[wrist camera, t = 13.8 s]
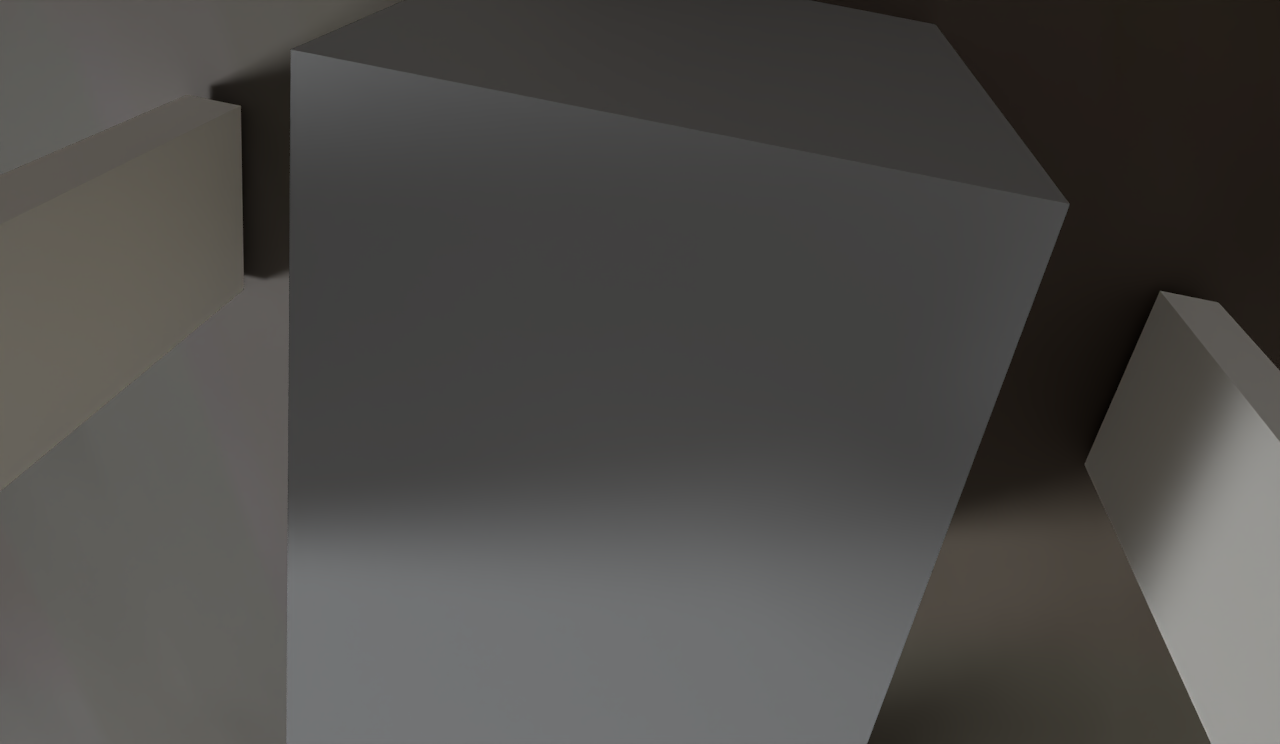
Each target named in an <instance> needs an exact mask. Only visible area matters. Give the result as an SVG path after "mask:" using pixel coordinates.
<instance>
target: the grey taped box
mask: <svg viewBox="0 0 1280 744" xmlns="http://www.w3.org/2000/svg"><path fill="white" fill-rule="evenodd" d="M1069 205H1070V204H1069V202H1068V201H1067V200H1066V198H1065V197H1064V196H1063V194H1062V193H1061V192H1060V190H1059V189H1058V188H1057V186H1056V185H1055V184H1054V182H1053V181H1052V180H1051V178H1050V177H1049V176H1048V174H1047V173H1046V172H1045V170H1044V169H1043V168H1042V166H1041V165H1040V164H1039V162H1038V161H1037V160H1036V158H1035V157H1034V155H1033V154H1032V153H1031V151H1030V150H1029V149H1028V147H1027V146H1026V145H1025V143H1024V142H1023V141H1022V139H1021V138H1020V137H1019V135H1018V134H1017V133H1016V131H1015V130H1014V129H1013V127H1012V126H1011V125H1010V123H1009V122H1008V121H1007V119H1006V118H1005V117H1004V115H1003V114H1002V113H1001V111H1000V110H999V109H998V107H997V106H996V105H995V103H994V102H993V101H992V99H991V98H990V97H989V95H988V94H987V93H986V91H985V90H984V89H983V87H982V86H981V85H980V83H979V82H978V81H977V79H976V78H975V77H974V75H973V74H972V73H971V71H970V70H969V69H968V67H967V66H966V65H965V63H964V62H963V60H962V59H961V58H960V56H959V55H958V54H957V52H956V51H955V50H954V48H953V47H952V46H951V44H950V43H949V42H948V40H947V39H946V38H945V36H944V35H943V34H942V32H941V31H940V30H939V28H938V27H937V26H936V24H931V23H926V22H921V21H915V20H910V19H905V18H900V17H895V16H890V15H884V14H879V13H874V12H869V11H864V10H859V9H853V8H848V7H843V6H838V5H833V4H827V3H822V2H817V1H812V0H404V1H402V2H400V3H397V4H395V5H393V6H390V7H388V8H386V9H383V10H381V11H379V12H376V13H374V14H372V15H369V16H367V17H365V18H363V19H360V20H358V21H356V22H353V23H351V24H349V25H346V26H344V27H342V28H339V29H337V30H335V31H332V32H330V33H328V34H326V35H323V36H321V37H319V38H316V39H314V40H312V41H309V42H307V43H305V44H302V45H300V46H298V47H295V48H293V49H291V93H290V251H289V409H288V567H287V725H286V744H867V743H868V740H869V737H870V735H871V732H872V729H873V727H874V724H875V721H876V719H877V716H878V713H879V711H880V708H881V706H882V703H883V700H884V698H885V695H886V692H887V690H888V687H889V684H890V682H891V679H892V676H893V674H894V671H895V668H896V666H897V663H898V660H899V658H900V655H901V652H902V650H903V647H904V644H905V642H906V639H907V636H908V634H909V631H910V628H911V626H912V623H913V620H914V618H915V615H916V612H917V610H918V607H919V604H920V602H921V599H922V596H923V594H924V591H925V588H926V586H927V583H928V580H929V578H930V575H931V572H932V570H933V567H934V564H935V562H936V559H937V556H938V554H939V551H940V549H941V546H942V543H943V541H944V538H945V535H946V533H947V530H948V527H949V525H950V522H951V519H952V517H953V514H954V511H955V509H956V506H957V503H958V501H959V498H960V495H961V493H962V490H963V487H964V485H965V482H966V479H967V477H968V474H969V471H970V469H971V466H972V463H973V461H974V458H975V455H976V453H977V450H978V447H979V445H980V442H981V439H982V437H983V434H984V431H985V429H986V426H987V423H988V421H989V418H990V415H991V413H992V410H993V407H994V405H995V402H996V399H997V397H998V394H999V392H1000V389H1001V386H1002V384H1003V381H1004V378H1005V376H1006V373H1007V370H1008V368H1009V365H1010V362H1011V360H1012V357H1013V354H1014V352H1015V349H1016V346H1017V344H1018V341H1019V338H1020V336H1021V333H1022V330H1023V328H1024V325H1025V322H1026V320H1027V317H1028V314H1029V312H1030V309H1031V306H1032V304H1033V301H1034V298H1035V296H1036V293H1037V290H1038V288H1039V285H1040V282H1041V280H1042V277H1043V274H1044V272H1045V269H1046V266H1047V264H1048V261H1049V258H1050V256H1051V253H1052V250H1053V248H1054V245H1055V242H1056V240H1057V237H1058V235H1059V232H1060V229H1061V227H1062V224H1063V221H1064V219H1065V216H1066V213H1067V211H1068V208H1069Z"/></svg>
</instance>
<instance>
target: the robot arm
mask: <svg viewBox="0 0 1280 744" xmlns="http://www.w3.org/2000/svg"><path fill="white" fill-rule="evenodd" d="M243 290H244V261H243V203H242V145H241V106H240V105H235V104H230V103H225V102H220V101H215V100H210V99H205V98H200V97H195V96H190V95H185V96H183V97H181V98H178V99H176V100H174V101H171V102H169V103H167V104H164V105H162V106H160V107H157V108H155V109H153V110H150V111H148V112H146V113H143V114H141V115H139V116H136V117H134V118H132V119H130V120H127V121H125V122H123V123H120V124H118V125H116V126H113V127H111V128H109V129H106V130H104V131H102V132H99V133H97V134H95V135H92V136H90V137H88V138H86V139H83V140H81V141H79V142H76V143H74V144H72V145H69V146H67V147H65V148H62V149H60V150H58V151H55V152H53V153H51V154H48V155H46V156H44V157H41V158H39V159H37V160H35V161H32V162H30V163H28V164H25V165H23V166H21V167H18V168H16V169H14V170H11V171H9V172H7V173H4V174H2V175H0V491H1V490H3V489H4V488H5V487H6V486H7V485H9V484H10V483H11V482H12V481H13V480H15V479H16V478H17V477H18V476H19V475H21V474H22V473H23V472H24V471H26V470H27V469H28V468H29V467H30V466H32V465H33V464H34V463H35V462H36V461H38V460H39V459H40V458H41V457H42V456H44V455H45V454H46V453H47V452H48V451H50V450H51V449H52V448H53V447H54V446H56V445H57V444H58V443H59V442H60V441H62V440H63V439H64V438H65V437H67V436H68V435H69V434H70V433H71V432H73V431H74V430H75V429H76V428H77V427H79V426H80V425H81V424H82V423H83V422H85V421H86V420H87V419H88V418H89V417H91V416H92V415H93V414H94V413H95V412H97V411H98V410H99V409H100V408H101V407H103V406H104V405H105V404H106V403H108V402H109V401H110V400H111V399H112V398H114V397H115V396H116V395H117V394H118V393H120V392H121V391H122V390H123V389H124V388H126V387H127V386H128V385H129V384H130V383H132V382H133V381H134V380H135V379H136V378H138V377H139V376H140V375H141V374H142V373H144V372H145V371H146V370H147V369H149V368H150V367H151V366H152V365H153V364H155V363H156V362H157V361H158V360H159V359H161V358H162V357H163V356H164V355H165V354H167V353H168V352H169V351H170V350H171V349H173V348H174V347H175V346H176V345H177V344H179V343H180V342H181V341H182V340H183V339H185V338H186V337H187V336H188V335H190V334H191V333H192V332H193V331H194V330H196V329H197V328H198V327H199V326H200V325H202V324H203V323H204V322H205V321H206V320H208V319H209V318H210V317H211V316H212V315H214V314H215V313H216V312H217V311H218V310H220V309H221V308H222V307H223V306H224V305H226V304H227V303H228V302H229V301H231V300H232V299H233V298H234V297H235V296H237V295H238V294H239V293H240V292H241V291H243ZM1084 465H1085V467H1086V470H1087V472H1088V474H1089V476H1090V478H1091V481H1092V483H1093V485H1094V487H1095V489H1096V492H1097V494H1098V496H1099V498H1100V500H1101V502H1102V505H1103V507H1104V509H1105V511H1106V513H1107V516H1108V518H1109V520H1110V522H1111V524H1112V527H1113V529H1114V531H1115V533H1116V535H1117V538H1118V540H1119V542H1120V544H1121V546H1122V549H1123V551H1124V553H1125V555H1126V557H1127V560H1128V562H1129V564H1130V566H1131V568H1132V571H1133V573H1134V575H1135V577H1136V579H1137V582H1138V584H1139V586H1140V588H1141V590H1142V593H1143V595H1144V597H1145V599H1146V601H1147V604H1148V606H1149V608H1150V610H1151V612H1152V615H1153V617H1154V619H1155V621H1156V623H1157V626H1158V628H1159V630H1160V632H1161V634H1162V637H1163V639H1164V641H1165V643H1166V645H1167V648H1168V650H1169V652H1170V654H1171V656H1172V659H1173V661H1174V663H1175V665H1176V667H1177V670H1178V672H1179V674H1180V676H1181V678H1182V681H1183V683H1184V685H1185V687H1186V689H1187V692H1188V694H1189V696H1190V698H1191V700H1192V703H1193V705H1194V707H1195V709H1196V711H1197V714H1198V716H1199V718H1200V720H1201V722H1202V725H1203V727H1204V729H1205V731H1206V733H1207V736H1208V738H1209V740H1210V742H1211V744H1280V370H1279V369H1278V368H1277V367H1276V366H1275V365H1274V364H1273V363H1272V362H1271V360H1270V359H1269V358H1268V357H1267V356H1266V355H1265V354H1264V353H1263V351H1262V350H1261V349H1260V348H1259V347H1258V346H1257V345H1256V344H1255V343H1254V341H1253V340H1252V339H1251V338H1250V337H1249V336H1248V335H1247V334H1246V333H1245V331H1244V330H1243V329H1242V328H1241V327H1240V326H1239V325H1238V324H1237V323H1236V321H1235V320H1234V319H1233V318H1232V317H1231V316H1230V315H1229V314H1228V312H1227V311H1226V310H1225V309H1224V308H1223V307H1222V306H1221V305H1220V304H1219V302H1214V301H1209V300H1204V299H1199V298H1194V297H1189V296H1184V295H1179V294H1174V293H1169V292H1164V291H1160V292H1159V294H1158V296H1157V299H1156V301H1155V303H1154V306H1153V308H1152V310H1151V312H1150V315H1149V317H1148V319H1147V322H1146V324H1145V326H1144V329H1143V331H1142V333H1141V335H1140V338H1139V340H1138V342H1137V345H1136V347H1135V349H1134V351H1133V354H1132V356H1131V358H1130V361H1129V363H1128V365H1127V368H1126V370H1125V372H1124V374H1123V377H1122V379H1121V381H1120V384H1119V386H1118V388H1117V390H1116V393H1115V395H1114V397H1113V400H1112V402H1111V404H1110V407H1109V409H1108V411H1107V413H1106V416H1105V418H1104V420H1103V423H1102V425H1101V427H1100V429H1099V432H1098V434H1097V436H1096V439H1095V441H1094V443H1093V446H1092V448H1091V450H1090V452H1089V455H1088V457H1087V459H1086V462H1085V464H1084Z"/></svg>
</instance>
